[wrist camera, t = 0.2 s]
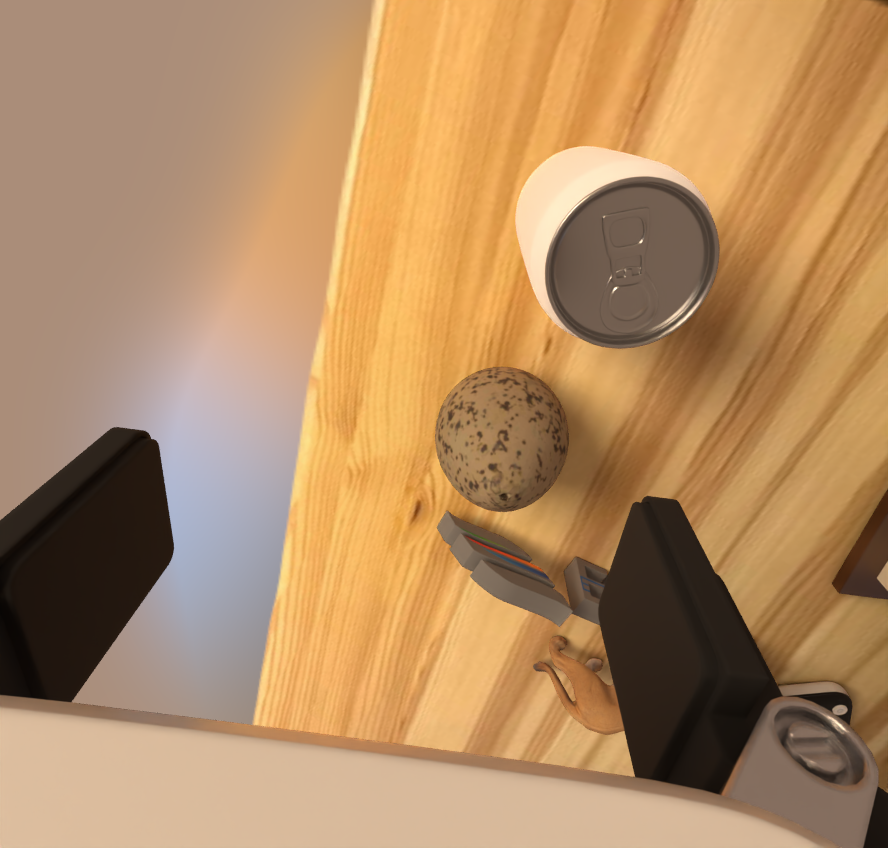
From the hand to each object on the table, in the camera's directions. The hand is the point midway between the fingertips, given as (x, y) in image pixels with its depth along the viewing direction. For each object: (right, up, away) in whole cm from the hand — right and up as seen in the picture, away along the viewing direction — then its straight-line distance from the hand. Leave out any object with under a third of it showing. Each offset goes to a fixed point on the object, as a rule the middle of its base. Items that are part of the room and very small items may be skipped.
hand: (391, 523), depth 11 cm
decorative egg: (+4, +3, +23) cm, 24 cm away
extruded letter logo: (+12, -9, +30) cm, 33 cm away
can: (+8, +13, +18) cm, 24 cm away
